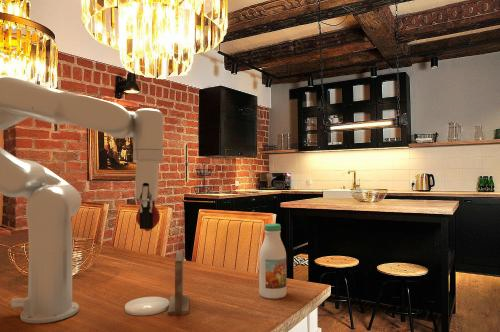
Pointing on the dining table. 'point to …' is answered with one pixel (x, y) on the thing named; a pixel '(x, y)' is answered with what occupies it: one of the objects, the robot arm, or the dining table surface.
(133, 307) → the coaster
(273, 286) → the milk bottle
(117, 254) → the dining table surface
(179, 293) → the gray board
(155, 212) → the onion
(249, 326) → the dining table surface
